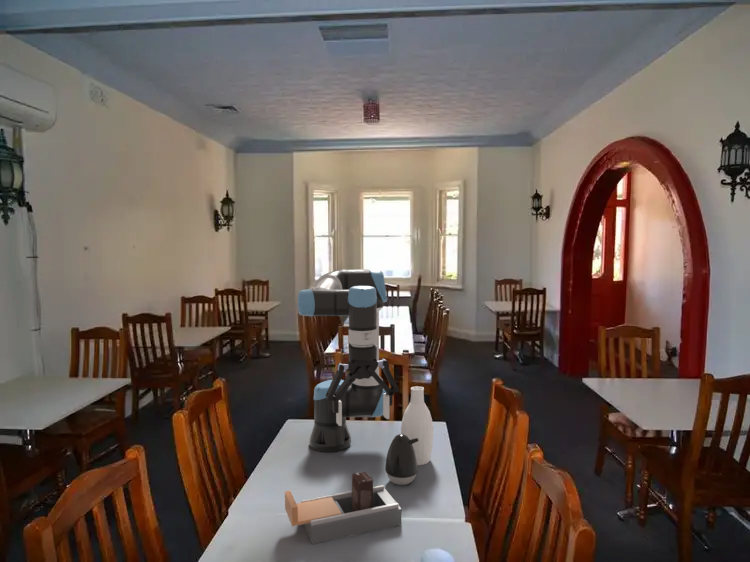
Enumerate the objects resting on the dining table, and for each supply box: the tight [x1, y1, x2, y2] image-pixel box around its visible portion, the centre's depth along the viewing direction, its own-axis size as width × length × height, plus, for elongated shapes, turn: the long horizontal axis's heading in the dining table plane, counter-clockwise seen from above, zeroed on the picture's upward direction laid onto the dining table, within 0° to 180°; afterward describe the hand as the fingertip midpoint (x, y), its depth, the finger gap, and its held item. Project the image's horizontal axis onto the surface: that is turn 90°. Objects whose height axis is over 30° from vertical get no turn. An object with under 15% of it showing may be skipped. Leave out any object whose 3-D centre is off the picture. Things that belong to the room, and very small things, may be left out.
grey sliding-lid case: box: [300, 484, 402, 545], centre depth 143 cm, size 13×24×6 cm, turn 111°
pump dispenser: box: [384, 433, 419, 486], centre depth 165 cm, size 10×10×15 cm
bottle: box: [400, 385, 434, 466], centre depth 180 cm, size 11×11×25 cm
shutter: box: [284, 490, 341, 527], centre depth 139 cm, size 9×13×5 cm
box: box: [351, 471, 374, 512], centre depth 144 cm, size 6×4×12 cm
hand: (363, 420), depth 143 cm, fingers open, 13 cm apart
